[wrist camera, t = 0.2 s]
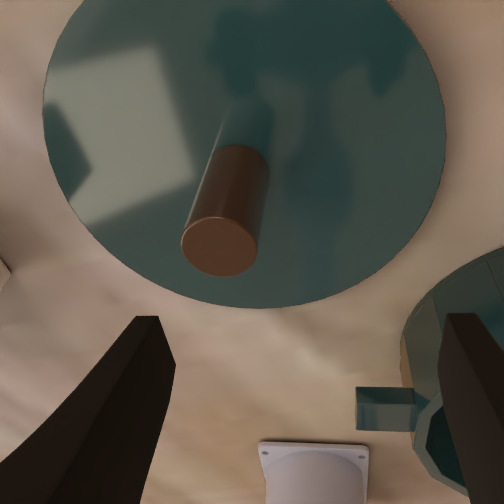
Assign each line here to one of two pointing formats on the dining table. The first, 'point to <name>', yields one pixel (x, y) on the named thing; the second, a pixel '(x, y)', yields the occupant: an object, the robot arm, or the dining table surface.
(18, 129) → the dining table surface
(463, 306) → the pot
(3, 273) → the white toy tower
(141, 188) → the lid
